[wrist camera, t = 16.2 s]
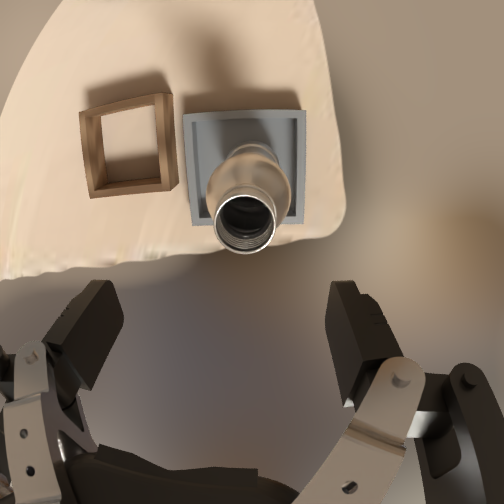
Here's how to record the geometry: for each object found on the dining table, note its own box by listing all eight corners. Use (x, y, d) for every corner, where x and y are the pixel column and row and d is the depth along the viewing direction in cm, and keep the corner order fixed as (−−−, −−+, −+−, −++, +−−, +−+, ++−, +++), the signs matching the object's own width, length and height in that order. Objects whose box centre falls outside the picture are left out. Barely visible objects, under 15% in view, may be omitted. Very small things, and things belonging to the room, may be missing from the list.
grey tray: (189, 114, 31) (182, 114, 28) (302, 110, 30) (306, 110, 28) (197, 217, 37) (192, 225, 35) (300, 215, 37) (303, 224, 34)
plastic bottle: (224, 188, 35) (187, 270, 17) (229, 136, 31) (190, 161, 14) (274, 193, 35) (290, 282, 17) (282, 142, 32) (311, 174, 14)
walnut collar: (94, 111, 30) (78, 112, 26) (172, 94, 29) (162, 92, 26) (103, 190, 35) (89, 198, 32) (179, 182, 35) (170, 190, 31)
